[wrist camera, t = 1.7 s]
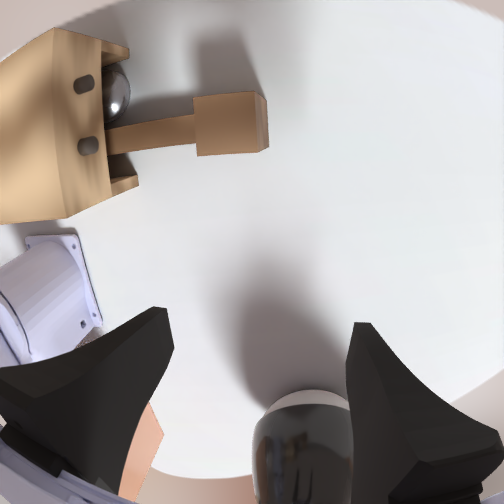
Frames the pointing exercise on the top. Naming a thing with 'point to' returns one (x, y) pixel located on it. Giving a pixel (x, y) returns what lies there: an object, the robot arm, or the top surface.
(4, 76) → the bread box
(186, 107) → the top surface
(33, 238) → the robot arm
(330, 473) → the black rounded egg shape
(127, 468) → the utensil crock
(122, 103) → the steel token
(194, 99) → the wooden mallet
